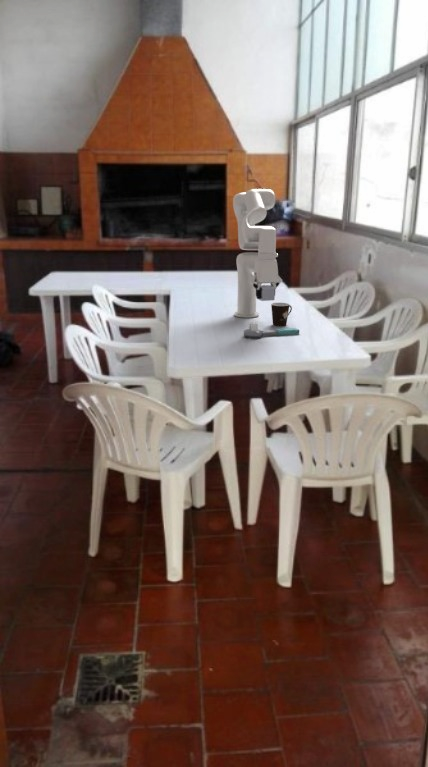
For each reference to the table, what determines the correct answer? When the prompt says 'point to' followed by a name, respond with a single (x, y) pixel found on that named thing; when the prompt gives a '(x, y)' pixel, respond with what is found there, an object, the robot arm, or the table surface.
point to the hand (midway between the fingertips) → (265, 297)
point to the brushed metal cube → (267, 292)
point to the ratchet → (267, 332)
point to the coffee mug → (280, 313)
